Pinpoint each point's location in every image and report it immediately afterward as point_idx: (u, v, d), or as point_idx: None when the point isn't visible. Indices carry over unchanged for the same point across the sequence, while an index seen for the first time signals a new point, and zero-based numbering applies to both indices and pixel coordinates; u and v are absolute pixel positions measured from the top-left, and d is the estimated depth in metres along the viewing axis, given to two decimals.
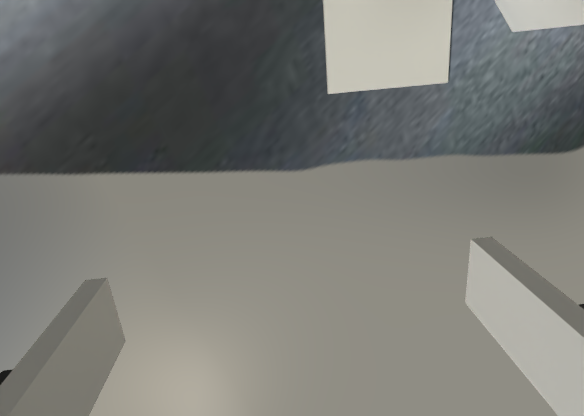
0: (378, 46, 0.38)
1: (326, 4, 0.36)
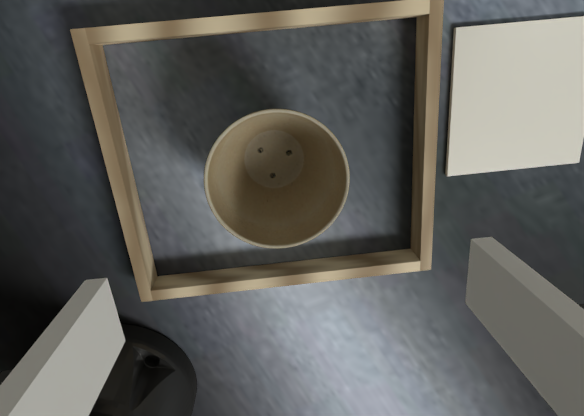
0: (543, 109, 0.33)
1: (493, 168, 0.35)
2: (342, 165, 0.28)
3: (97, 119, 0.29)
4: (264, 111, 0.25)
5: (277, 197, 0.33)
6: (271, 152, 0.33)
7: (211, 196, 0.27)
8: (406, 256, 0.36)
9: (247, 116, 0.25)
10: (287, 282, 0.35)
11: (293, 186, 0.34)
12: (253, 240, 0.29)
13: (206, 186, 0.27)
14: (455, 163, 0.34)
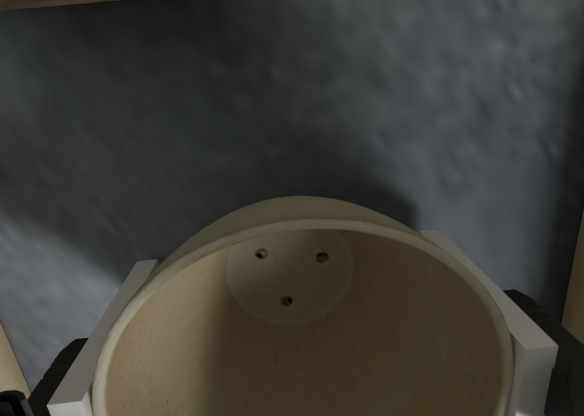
0: None
1: None
2: (487, 349, 0.10)
3: None
4: (274, 228, 0.08)
5: (297, 348, 0.16)
6: (284, 258, 0.15)
7: None
8: None
9: (218, 243, 0.08)
10: None
11: (329, 322, 0.16)
12: None
13: None
14: None
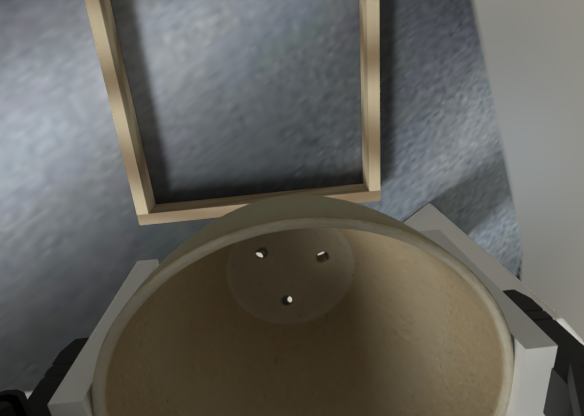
0: None
1: None
2: (487, 349, 0.10)
3: None
4: (274, 227, 0.08)
5: (297, 348, 0.16)
6: (284, 257, 0.15)
7: None
8: (149, 200, 0.36)
9: (218, 242, 0.08)
10: (106, 73, 0.31)
11: (329, 322, 0.16)
12: None
13: None
14: None
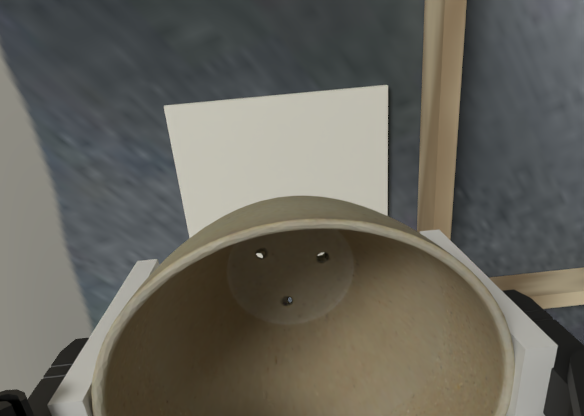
0: (249, 188, 0.23)
1: (312, 96, 0.21)
2: (488, 350, 0.10)
3: None
4: (274, 228, 0.08)
5: (297, 348, 0.16)
6: (284, 258, 0.15)
7: None
8: None
9: (218, 243, 0.08)
10: None
11: (329, 322, 0.16)
12: None
13: None
14: (375, 106, 0.21)
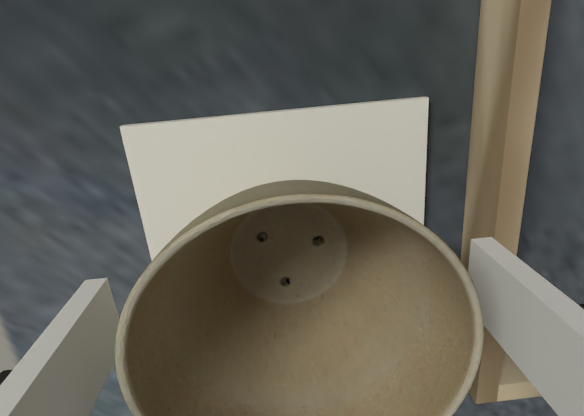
0: None
1: (324, 113, 0.15)
2: (461, 314, 0.11)
3: None
4: (273, 201, 0.09)
5: (295, 325, 0.17)
6: (283, 241, 0.17)
7: (140, 394, 0.11)
8: None
9: (225, 214, 0.09)
10: None
11: (324, 302, 0.17)
12: None
13: (123, 380, 0.10)
14: (411, 125, 0.16)
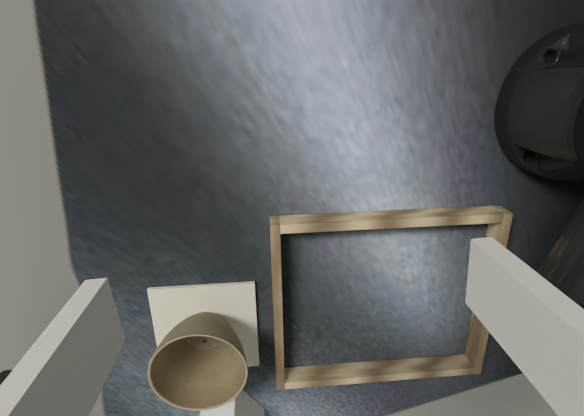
0: None
1: (218, 287, 0.45)
2: None
3: (486, 334, 0.48)
4: (189, 336, 0.38)
5: (206, 357, 0.46)
6: None
7: (153, 380, 0.40)
8: None
9: (177, 338, 0.38)
10: (394, 222, 0.41)
11: (218, 349, 0.47)
12: (181, 405, 0.42)
13: (149, 376, 0.40)
14: (249, 291, 0.45)
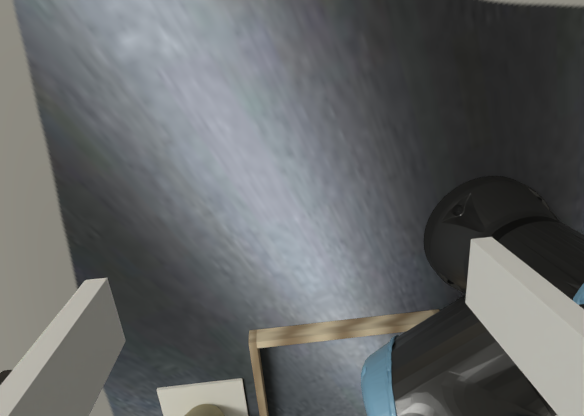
0: None
1: (213, 385, 0.55)
2: None
3: None
4: None
5: None
6: None
7: None
8: None
9: None
10: (348, 333, 0.51)
11: None
12: None
13: None
14: (238, 386, 0.56)
